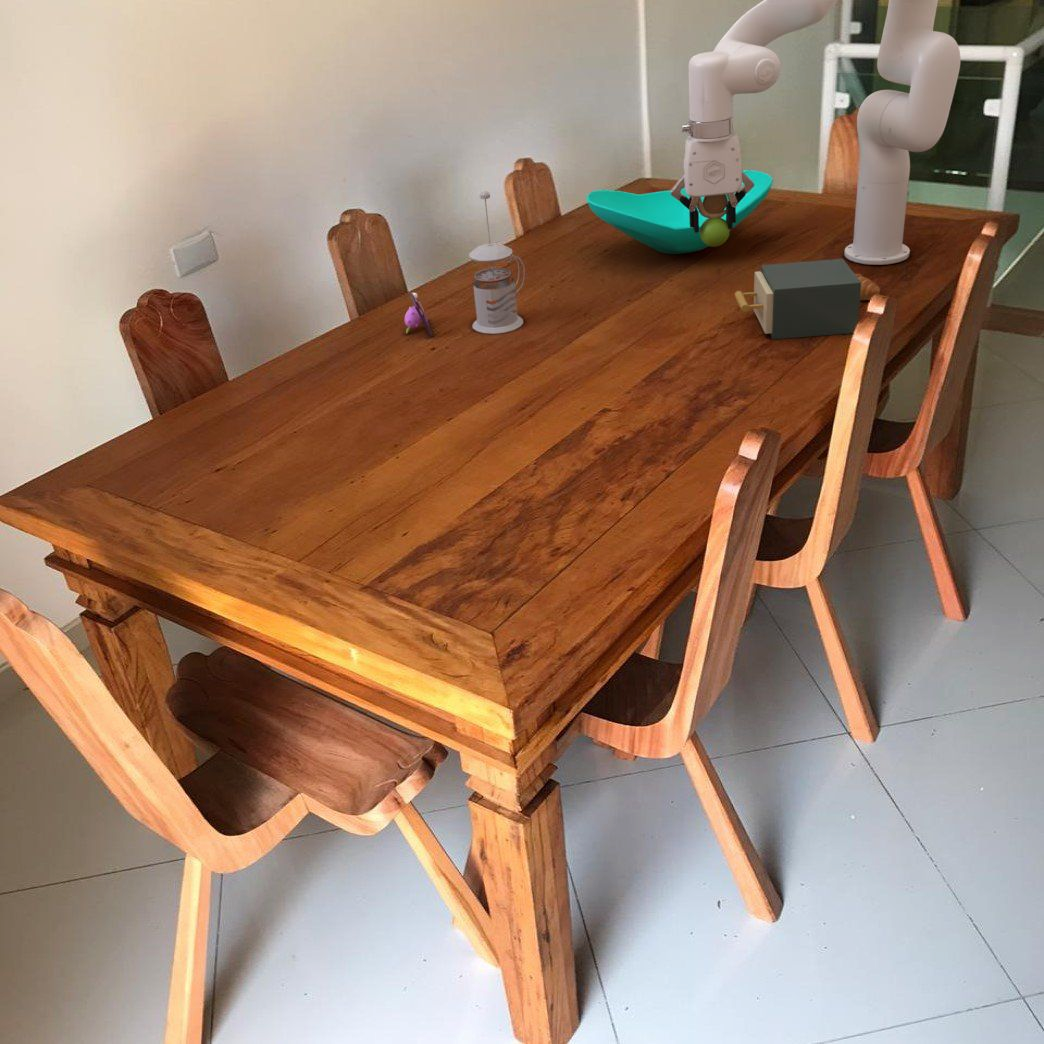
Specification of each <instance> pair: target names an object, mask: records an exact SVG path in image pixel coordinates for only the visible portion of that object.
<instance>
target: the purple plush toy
mask: <svg viewBox="0 0 1044 1044" xmlns="http://www.w3.org/2000/svg"><path fill="white" fill-rule="evenodd" d="M409 296H410V299H411V300H412V303H413V305H412V306H409V308H408V310H407V311H406V313H405V315H404V324H405V326H406V327H407V328H406V330H405V334H406V335H408V334H409V332H410V331H411V330H412V329H416V328H417V327H418V326H419V325H420V323H421V322H422V323H423V326H424V327H425V329H426V331H427V333H428V334H429V336H430V338H433V337H434V335H433V333H432V330H431V327H430V325H429V321H428V319H427V315H426V314H425V310H424V309H423V306H422V304H421V302H420V301H418V300H417V299H418V297H419V296H418V293H417V292H412V290H410V291H409Z"/></svg>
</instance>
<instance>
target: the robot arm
mask: <svg viewBox="0 0 1044 1044" xmlns="http://www.w3.org/2000/svg"><path fill="white" fill-rule="evenodd" d="M838 1H839V0H762V1H760V2H759V3H757V4H756V5H755V6H753V7H752V8H750V9H749V10H747V11H746V12H745V13H744V14H742V15H741V16H740V17H739V18H738V19H737V20H736V21H735V22H734V24H733V25H732V26H731V27H729V29H728V30H727V32H726V33H725V34H724V35H723V36H722V38H721V39H720V40H719V41H718V42H717V44H716V46H714V47H715V48H714V49H713V51H707V52H706V51H705V52H700V53H697V54H695V55H692V56H691V58H690V59H689V62H688V111H689V119H688V121H687V123H683V124H681V133H686V134H688V135H689V136H687V137H686V140H685V146H684V153H683V170H682V172H683V173H682V175H681V176H680V177H679V178H678V180H677V181H676V182H675V184H674V185H673V187H672V188H671V189H670V190H671V191H670V193H671V195H672V196H673V197H674V198H676V199H677V200H679V201H680V202H681V203H682V204H683V205H684V206H685V207H686V208H688V209H689V220H690V227H693V229H694V232H695V233H698V232H699V212H698V210H697V207H696V206H697V203H698V200H699V197H705V196H715V195H724V194H726V195H727V197H728V200H729V201H728V203H727V206H726V209H727V213H726V222H727V223H728V229H731V230H733V229H734V228H733V223H736V207H737V205H738V203H739V202H740V201H741V200H742V199H743V198H744V196H745V195H746V194H747V193H748V192H749V191H750V190H751V189H752V188H753V187H754V183H753V181H752V180H751V179H750V178H749V177H748V176H747V175H746V174H745V173H744V172H743V170H742V155H741V146H740V140H739V135H738V134H737V133H736V132H735V131H734V96H735V95H742V94H743V95H745V94H759V93H762V92H765V91H767V90H769V89H770V88H772V87H773V86H774V85H775V83H776V82H777V81H778V79H779V77H780V74H781V69H782V67H781V61H780V58H779V56H778V55H777V53H776V52H775V51H773V50H772V49H770V48H768V47H766V46H767V45H769V44H770V43H772V42H773V41H775V40H777V39H778V38H780V37H782V36H785V35H787V34H790V33H792V32H795V31H799V30H802V29H806V28H808V27H810V26H812V25H815V24H817V23H819V22H820V21H822V20H823V19H824V18H825V16H826V15H827V14H828V13H829V12H830V10H831V9H832V8H833V7H834V6H835V5H836V3H837V2H838ZM938 2H939V0H888V5H887V11H886V16H885V21H884V25H883V30H882V36H881V40H880V45H879V49H878V55H877V62H876V69H877V72H878V74H879V76H881V78H883V79H884V80H886V81H889V82H892V83H896V84H900V85H903V86H904V85H905V86H909V87H910V88H909V92H904V91H899V90H894V89H881V90H877V91H874V92H872V93H871V94H869V95H868V96H867V97H866V98H865V99H864V100H863V101H862V102H861V105H860V107H859V108H858V112H857V116H856V131H857V139H858V151H859V152H858V153H859V154H858V173H857V187H856V198H855V200H856V201H855V212H854V213H855V214H854V225H853V239H852V243H850V244H849V245H846V247H845V248H844V257H845V258H846V259H847V260H849V261H851V262H854V263H856V264H862V265H871V266H884V265H886V266H887V265H894V264H897V263H901V262H904V261H905V260H907V259H908V258H909V257H910V253H911V250H910V247H908V246H907V245H906V244H904V242H903V241H904V232H905V231H904V230H905V221H906V212H907V211H906V210H907V201H908V190H909V183H910V182H909V180H910V173H911V160H910V159H911V157H910V152H913V153H923V152H927V151H929V150H930V149H932V148H933V147H934V146H935V145H936V144H937V143H938V142H939V141H940V139H941V138H942V136H943V134H944V131H945V128H946V125H947V122H948V119H949V115H950V111H951V108H952V107H951V106H952V103H953V99H954V95H955V90H956V87H957V82H958V78H959V73H960V69H961V51H960V47H959V45H958V42H957V40H955V38H954V37H953V36H951V35H950V34H948V33H946V32H943V31H942V32H941V31H938V30H937V31H935V30H934V27H935V26H934V25H935V19H936V14H937V9H938ZM742 182H743V183H744V185H743V186H742ZM741 187H742V188H741ZM684 188H685V191H686V193H687V195H688V196H690V197H689V199H688V198H687V197H686V196H685V195H683V194H682V193H681V192H680V191H681V190H682V189H684ZM734 193H735V194H734Z"/></svg>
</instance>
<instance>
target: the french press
mask: <svg viewBox="0 0 1044 1044" xmlns="http://www.w3.org/2000/svg"><path fill="white" fill-rule="evenodd" d="M490 198H491V194H490V192H489V191H487V190H483V191H481V192H479V199H480V200H484V206H485V216H486V225H487V234H488V236H487V237H488V243H485V244H481V245H478V246H476V247H475V248H474V249H473V250H472V251H470V252H469V253H468V257H469V259H470V260H471V261H473V262H475V263H484V264H485V263H486V264H488V263H490V264H491V267H489V268H485V269H482V270H481V269H480V270H479V271H476V272H475V273H474V274H473V279H474V281H473V286H472V287H473V295H474V304H475V313H476V320H474V322H473V323H472V329H473V330H475V331H476V332H479V333H481V334H492V335H493V334H494V335H495V334H504V333H507V332H508V333H509V332H511V331H515V330H516V329H519V328H520V327H522V325H523V324H524V319H523V318H522V317H521V316H520V315H518V307H517V296H516V295H517V294H518V292H519V291H520V290H521V289H522V287H523V285H524V283H525V278H526V270H525V265H524V262H523V261H522V259H521V258H520V257H519V256H516V255H514V254H513V249H512V248H511V247H509V246H507V245H504V244H503V243H495V242H491V235H490V227H489V218H488V217H489V216H488V208H487V200H488V199H490ZM509 258H510V260H508V259H509ZM512 258H513V259H514V260H515V263H516V264H517V270H518V273H517V278H516V279H517V280H516V282H515V279H514V278H513V277H512V276H513V271H511V270H510V269H508V268H505V267H494V266H493V263H497V262H501V261H502V262H503V261H505V262H506V263H507V264H512V261H513V259H512ZM518 261H519V262H520V264H521V266H522V273H523V274H522V275H523V279H522V282H521V285H520V286H519V288H518V289H517V290H516V286H517V285H518V283H519V280H520V276H521V270H520V264H519V262H518ZM510 280H511V284H510ZM495 283H496V284H498V285H496V284H495ZM483 284H486V285H484V286H482V287H481V285H483ZM480 287H481V288H480ZM511 292H512V293H511ZM488 302H496V303H488ZM512 305H513V306H512Z"/></svg>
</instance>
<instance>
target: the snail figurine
mask: <svg viewBox="0 0 1044 1044" xmlns="http://www.w3.org/2000/svg"><path fill="white" fill-rule="evenodd" d="M727 203H728V199H727V196H726V194H724V195H715V196H705V197H704V199H703V203H702V200H701V197H699V200H698V203H697V208H698V210H699V212H700V214H701V215H702V216H704V217H706V218H708V219H706V220H705V221H704V222H703V224H702V226H701V228H700V236H701V239H702V241H703V242H704V243H705V244H707V245H708V246H709V247H712V248H717V247H720V246H722V245H724V244H725V243H726V242H727V240H728V239H729V237H730V234H731V233H730V232H731V230H730V229H728V223H727V222H726V221H725V220H724V219H723V218H721V217H723V216H724V215H725V214H726V213H727V209H726V210H724V209H725V208H726V206H727Z"/></svg>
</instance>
